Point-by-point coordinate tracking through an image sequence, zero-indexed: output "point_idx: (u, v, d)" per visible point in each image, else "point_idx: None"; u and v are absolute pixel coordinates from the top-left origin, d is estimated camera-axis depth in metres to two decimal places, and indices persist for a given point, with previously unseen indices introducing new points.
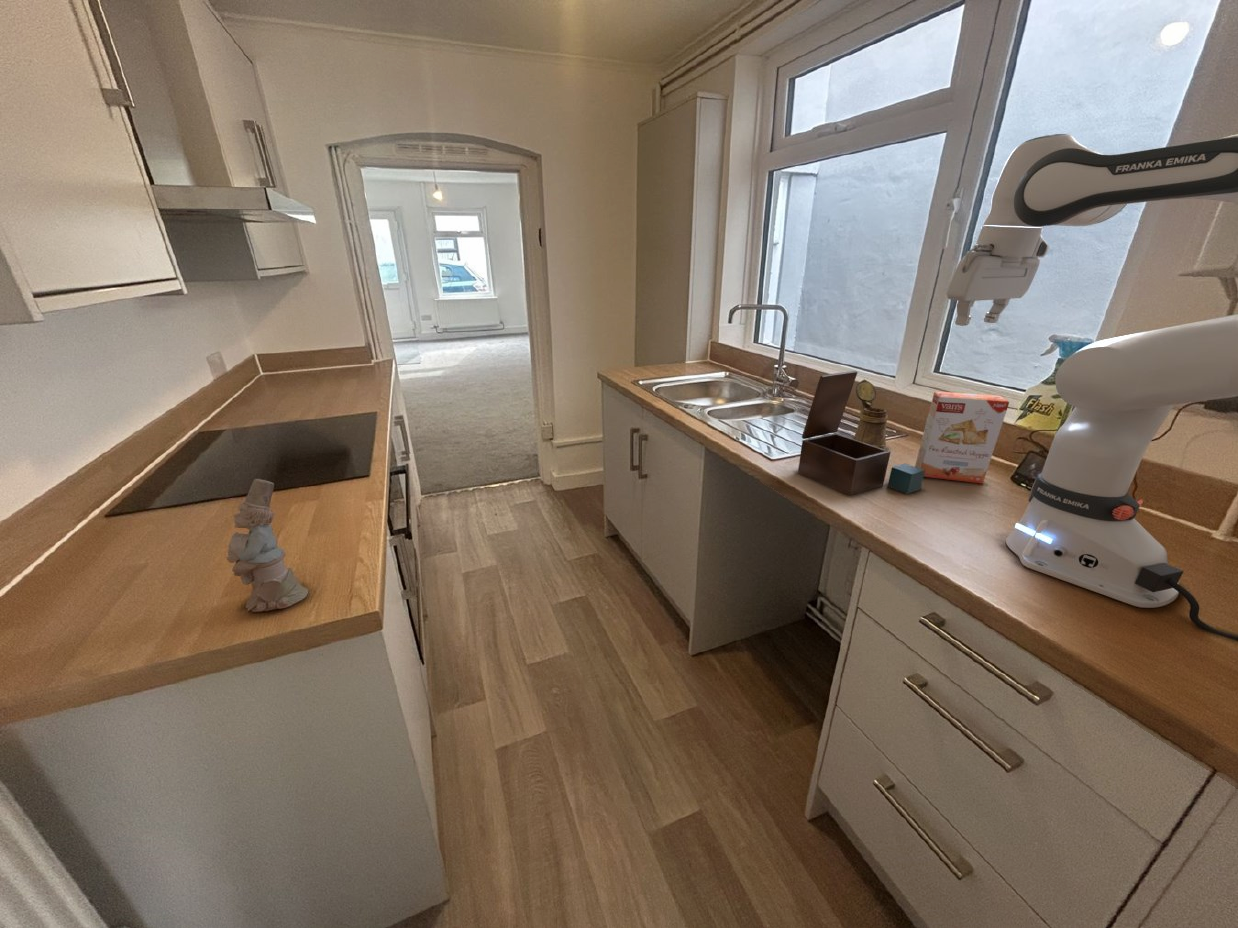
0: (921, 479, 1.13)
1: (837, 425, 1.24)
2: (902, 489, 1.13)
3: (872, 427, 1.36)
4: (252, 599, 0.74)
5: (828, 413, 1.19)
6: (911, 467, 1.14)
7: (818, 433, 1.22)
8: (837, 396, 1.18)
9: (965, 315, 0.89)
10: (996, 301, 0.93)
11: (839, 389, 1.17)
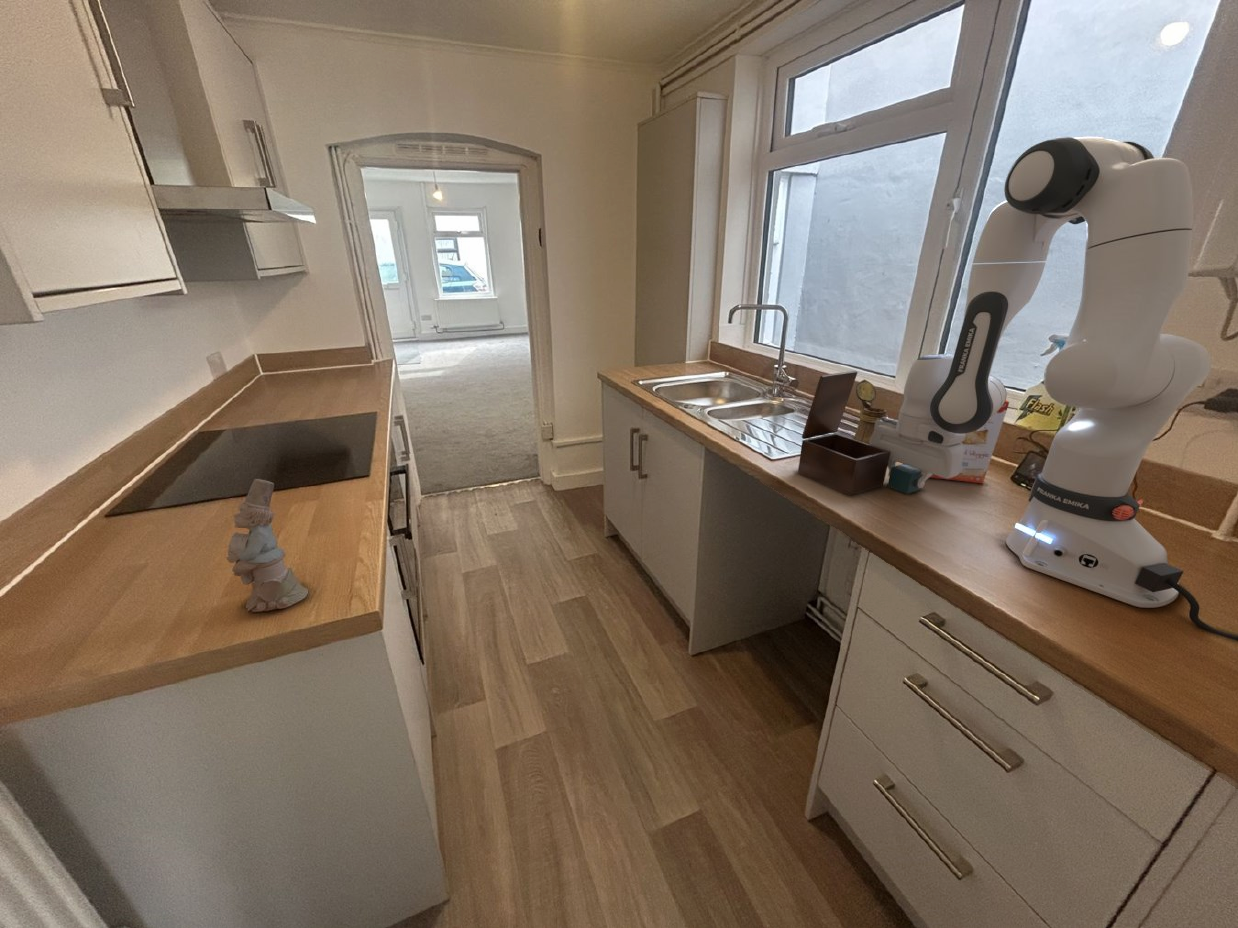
0: None
1: (837, 425, 1.24)
2: (902, 489, 1.13)
3: (872, 427, 1.36)
4: (252, 599, 0.74)
5: (828, 413, 1.19)
6: (911, 467, 1.14)
7: (818, 433, 1.22)
8: (837, 396, 1.18)
9: None
10: None
11: (839, 389, 1.17)
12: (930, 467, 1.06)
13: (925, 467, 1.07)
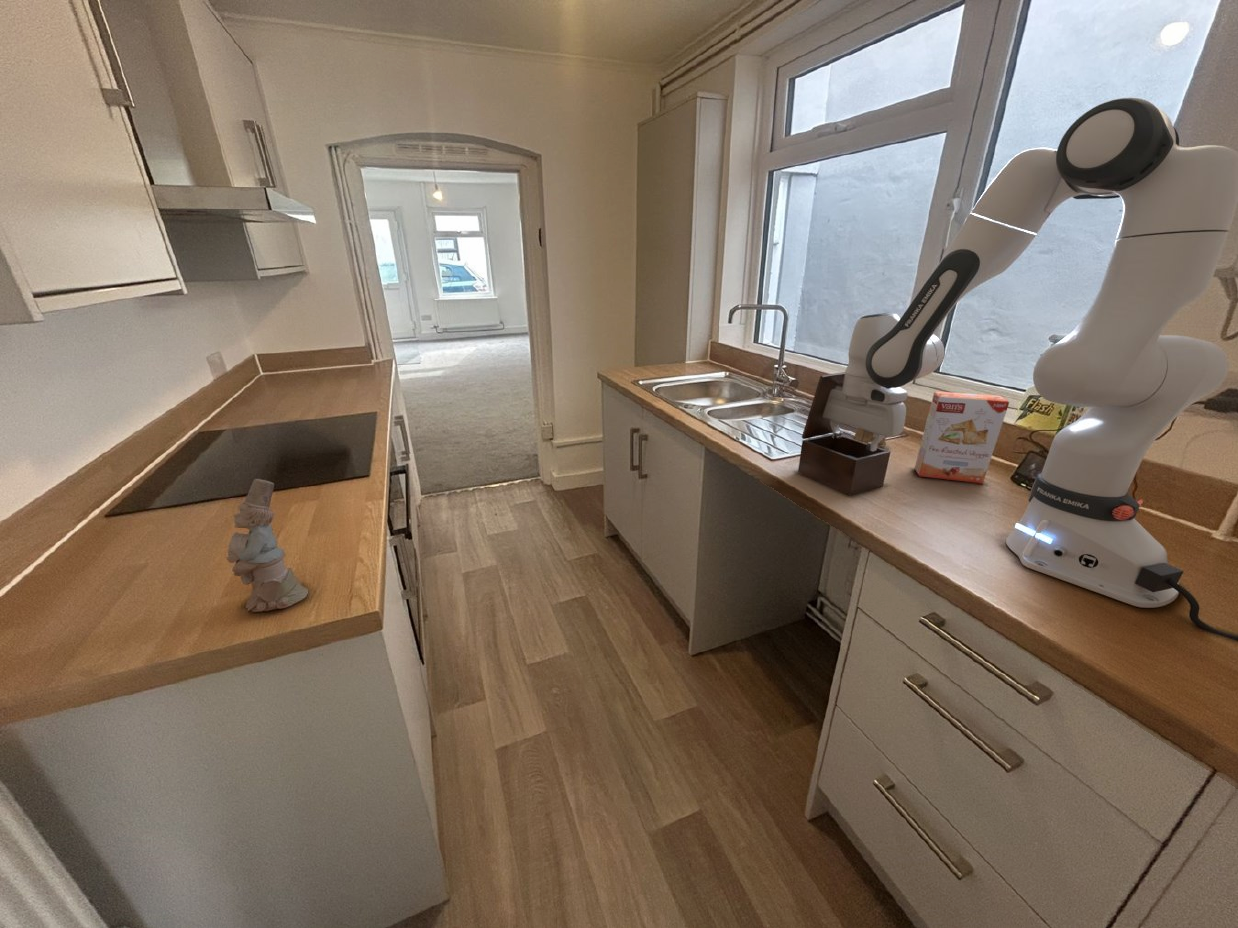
0: None
1: None
2: None
3: None
4: (252, 599, 0.74)
5: None
6: None
7: (818, 433, 1.22)
8: None
9: None
10: None
11: None
12: (874, 427, 1.07)
13: (870, 427, 1.08)
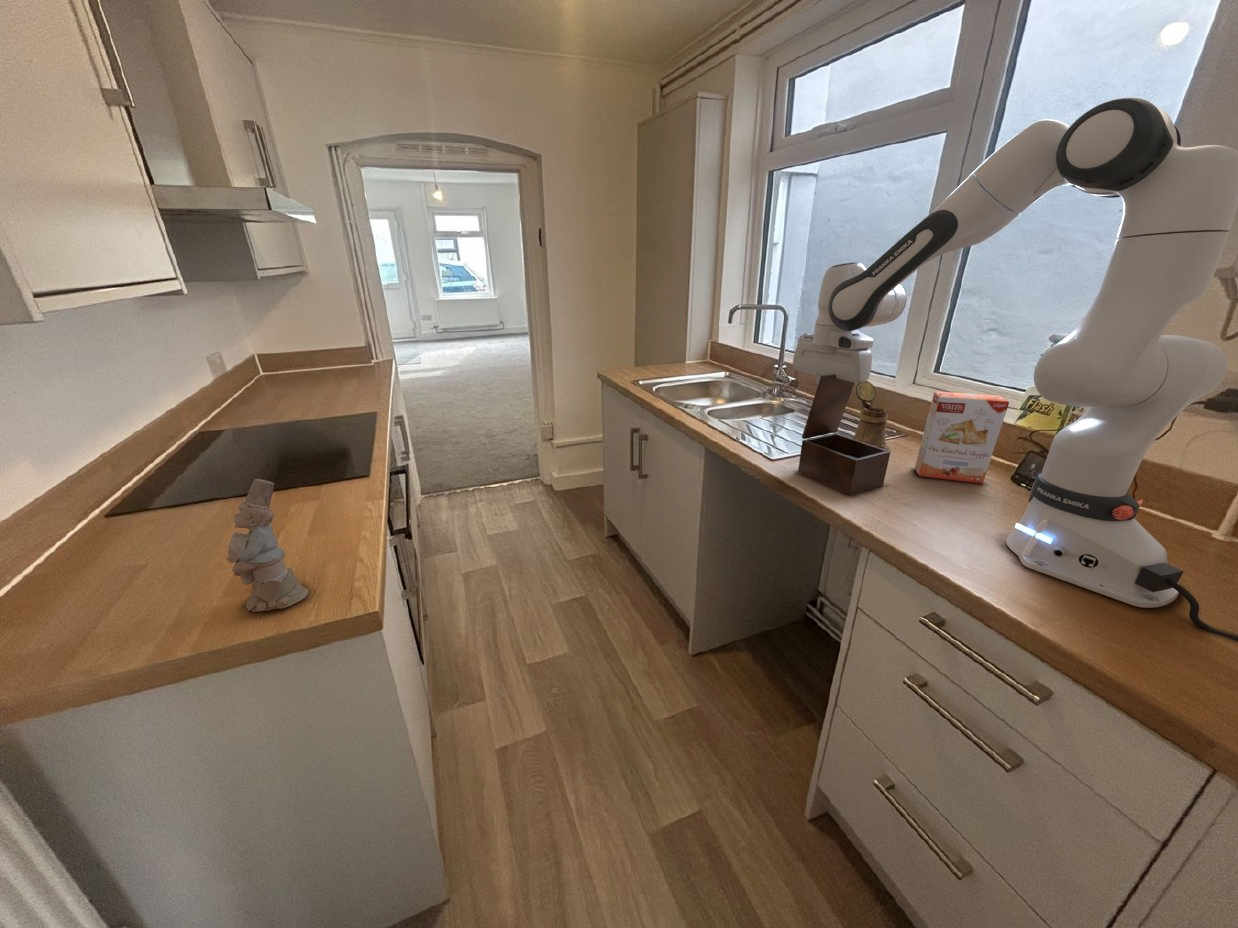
0: None
1: (837, 425, 1.24)
2: None
3: (872, 427, 1.36)
4: (252, 599, 0.74)
5: (828, 413, 1.19)
6: None
7: (818, 433, 1.22)
8: (837, 396, 1.18)
9: None
10: None
11: (839, 389, 1.17)
12: (842, 374, 1.12)
13: (838, 375, 1.13)
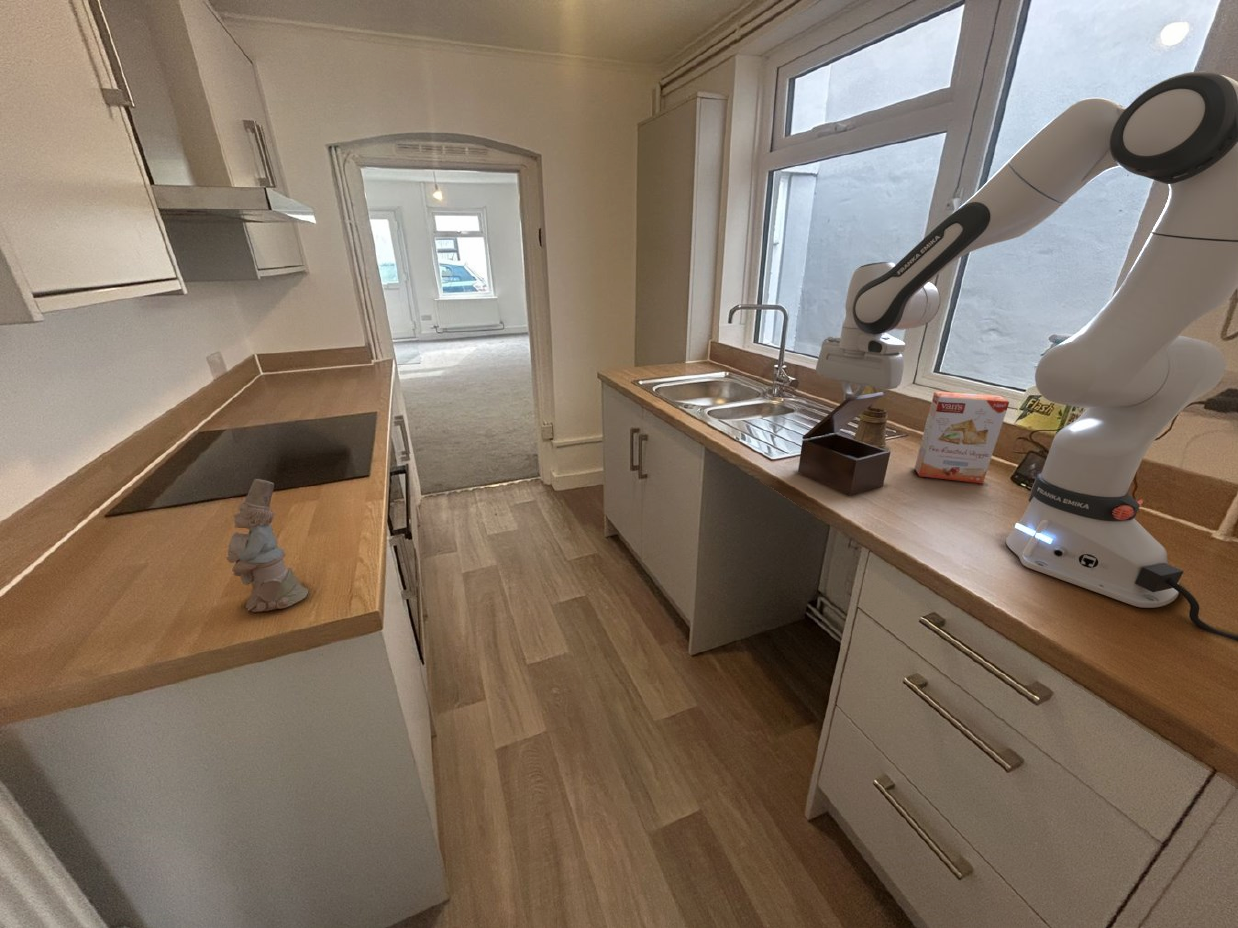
0: None
1: (839, 428, 1.23)
2: None
3: (872, 427, 1.36)
4: (252, 599, 0.74)
5: (836, 423, 1.18)
6: None
7: (819, 435, 1.22)
8: (853, 411, 1.15)
9: None
10: None
11: (858, 407, 1.13)
12: (871, 380, 1.05)
13: (867, 381, 1.06)
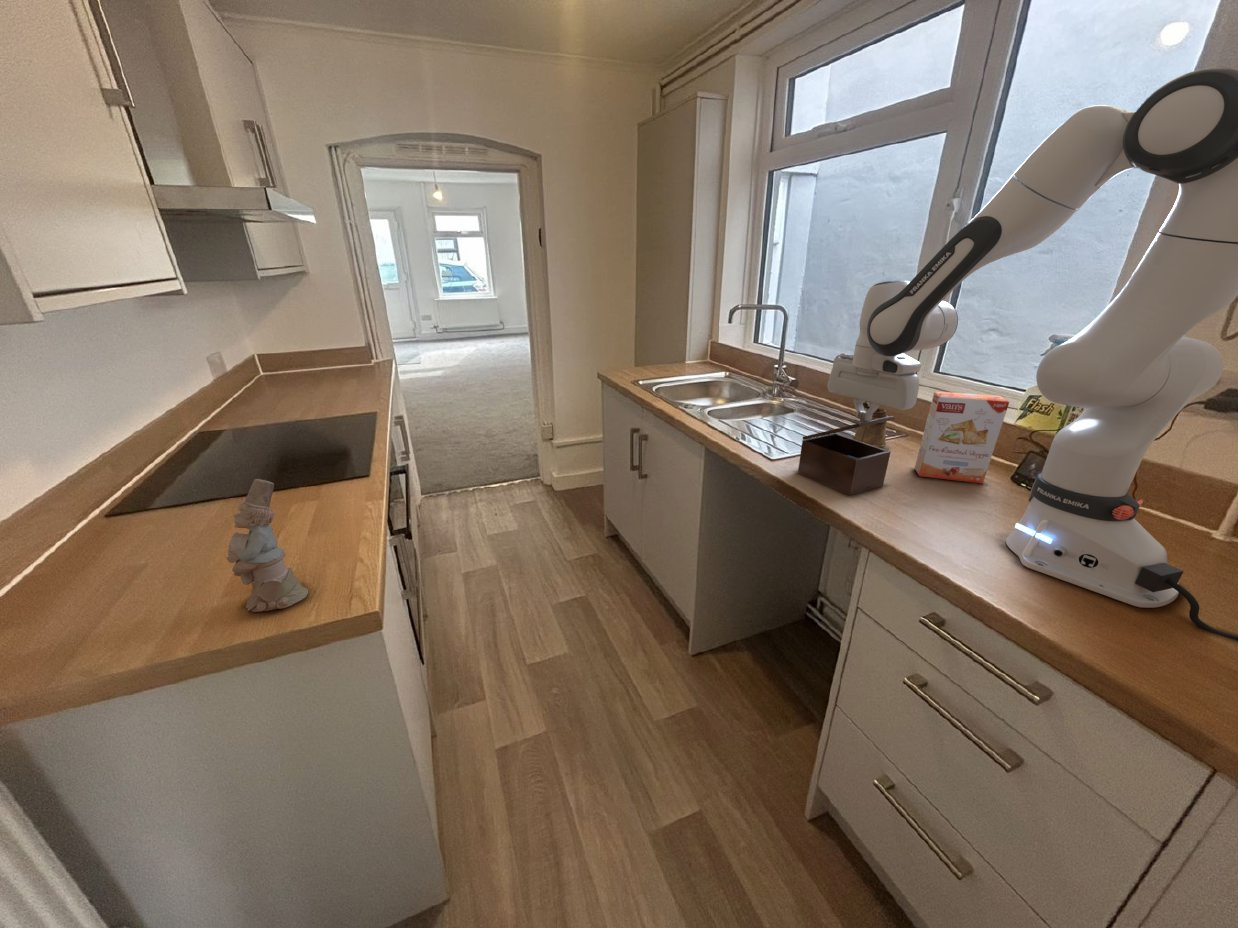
0: None
1: None
2: None
3: (872, 427, 1.36)
4: (252, 599, 0.74)
5: None
6: None
7: (819, 436, 1.22)
8: None
9: None
10: None
11: None
12: (886, 400, 1.03)
13: (881, 400, 1.04)
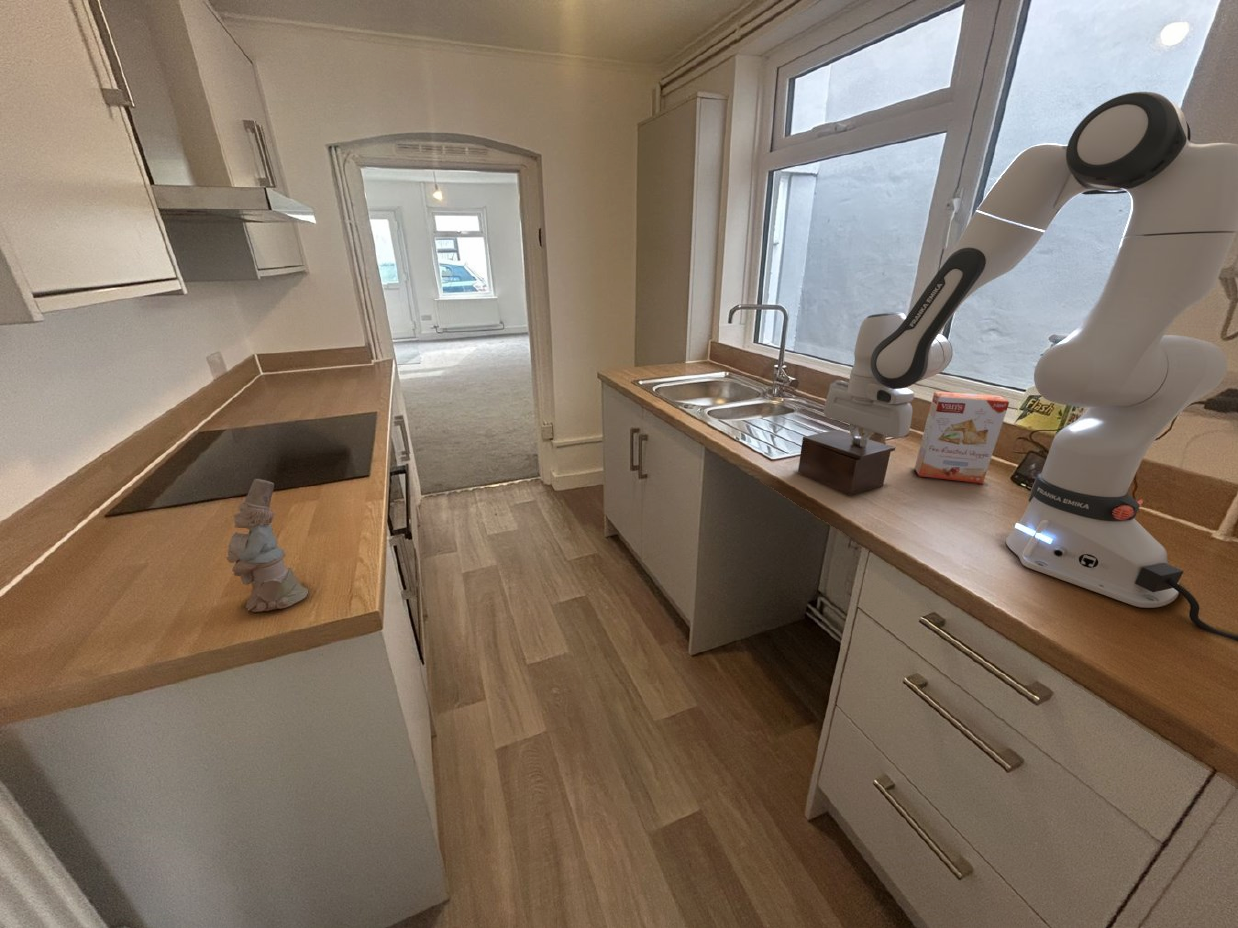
0: None
1: None
2: None
3: None
4: (252, 599, 0.74)
5: None
6: None
7: None
8: None
9: None
10: None
11: None
12: (880, 427, 1.06)
13: (875, 428, 1.07)
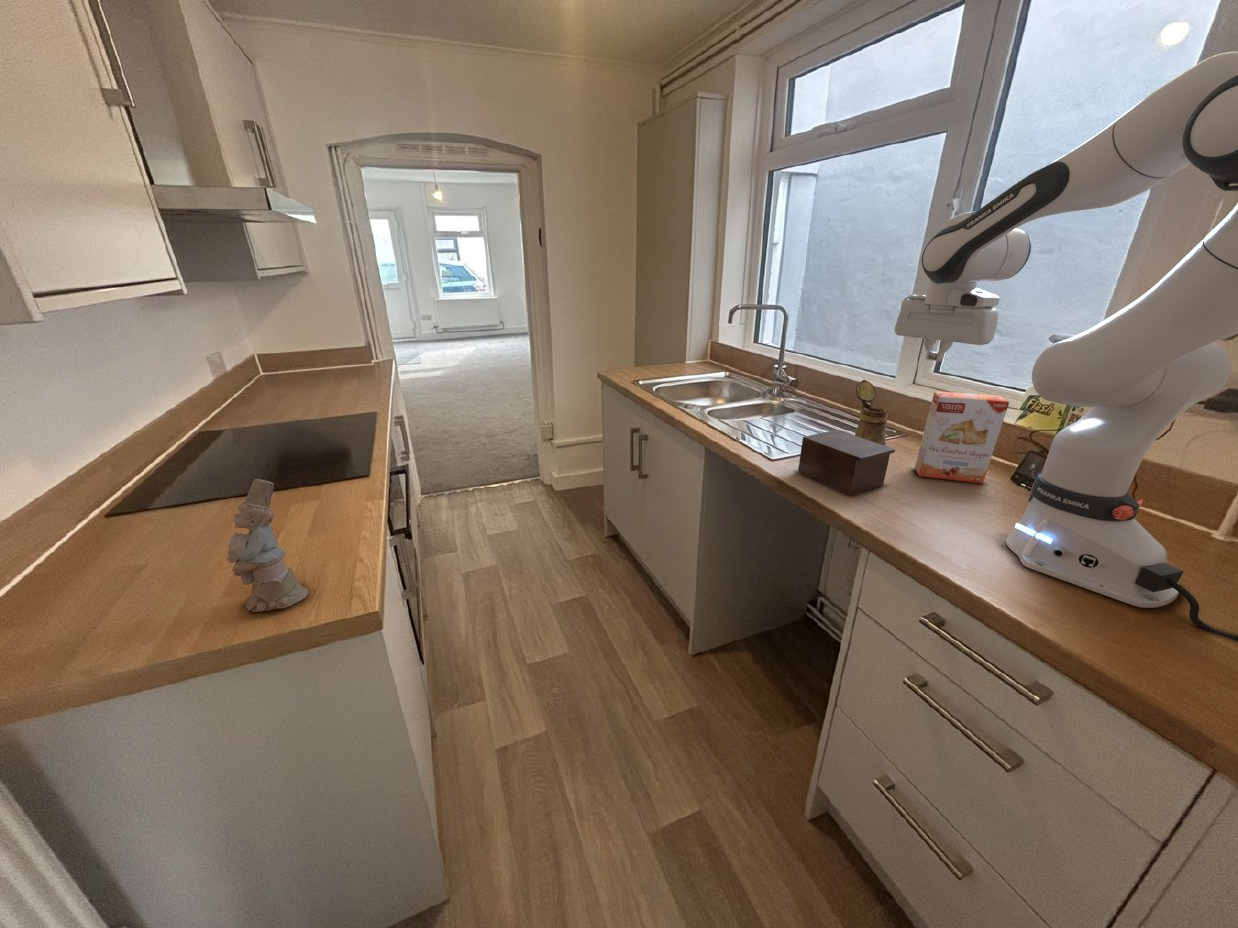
0: None
1: None
2: None
3: (872, 427, 1.36)
4: (252, 599, 0.74)
5: None
6: None
7: None
8: None
9: None
10: None
11: None
12: (962, 336, 1.02)
13: (956, 337, 1.03)
